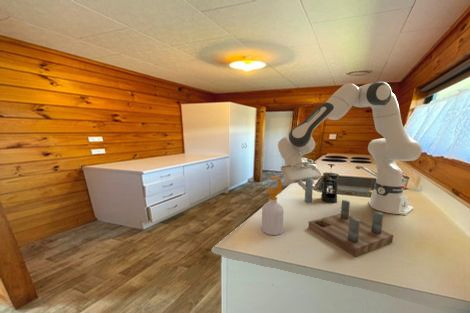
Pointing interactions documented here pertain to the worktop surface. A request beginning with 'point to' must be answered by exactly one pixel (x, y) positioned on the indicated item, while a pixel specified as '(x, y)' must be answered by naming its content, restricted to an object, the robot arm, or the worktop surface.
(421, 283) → the worktop surface
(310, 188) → the stool leg
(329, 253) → the worktop surface
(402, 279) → the worktop surface
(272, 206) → the white orange spray bottle
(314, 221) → the stool
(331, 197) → the french press
